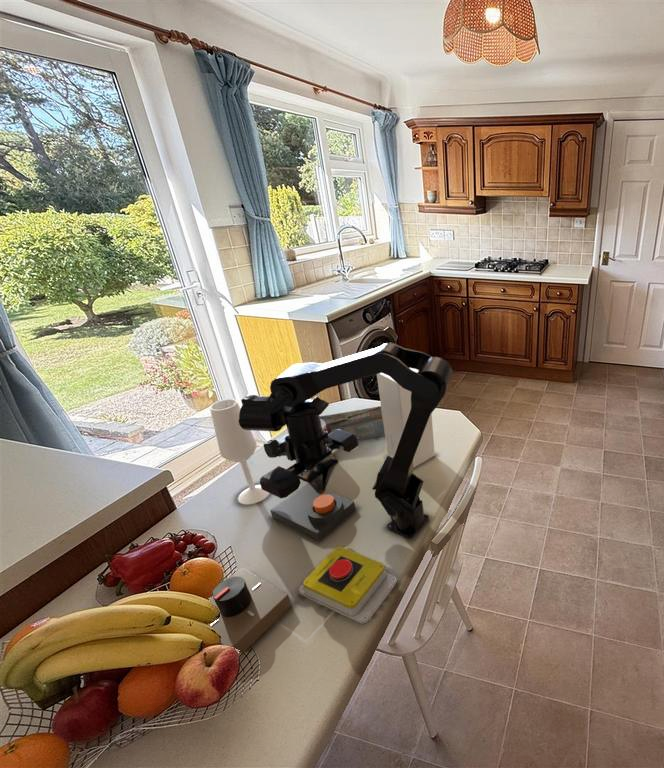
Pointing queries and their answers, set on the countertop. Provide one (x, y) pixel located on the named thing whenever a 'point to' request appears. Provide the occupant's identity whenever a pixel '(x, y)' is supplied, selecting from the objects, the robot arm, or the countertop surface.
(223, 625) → the dial console
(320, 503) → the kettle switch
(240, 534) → the countertop surface
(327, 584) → the emergency button
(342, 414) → the beverage carton
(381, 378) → the tall white carton
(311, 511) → the emergency button base
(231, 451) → the champagne flute
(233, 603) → the knob
